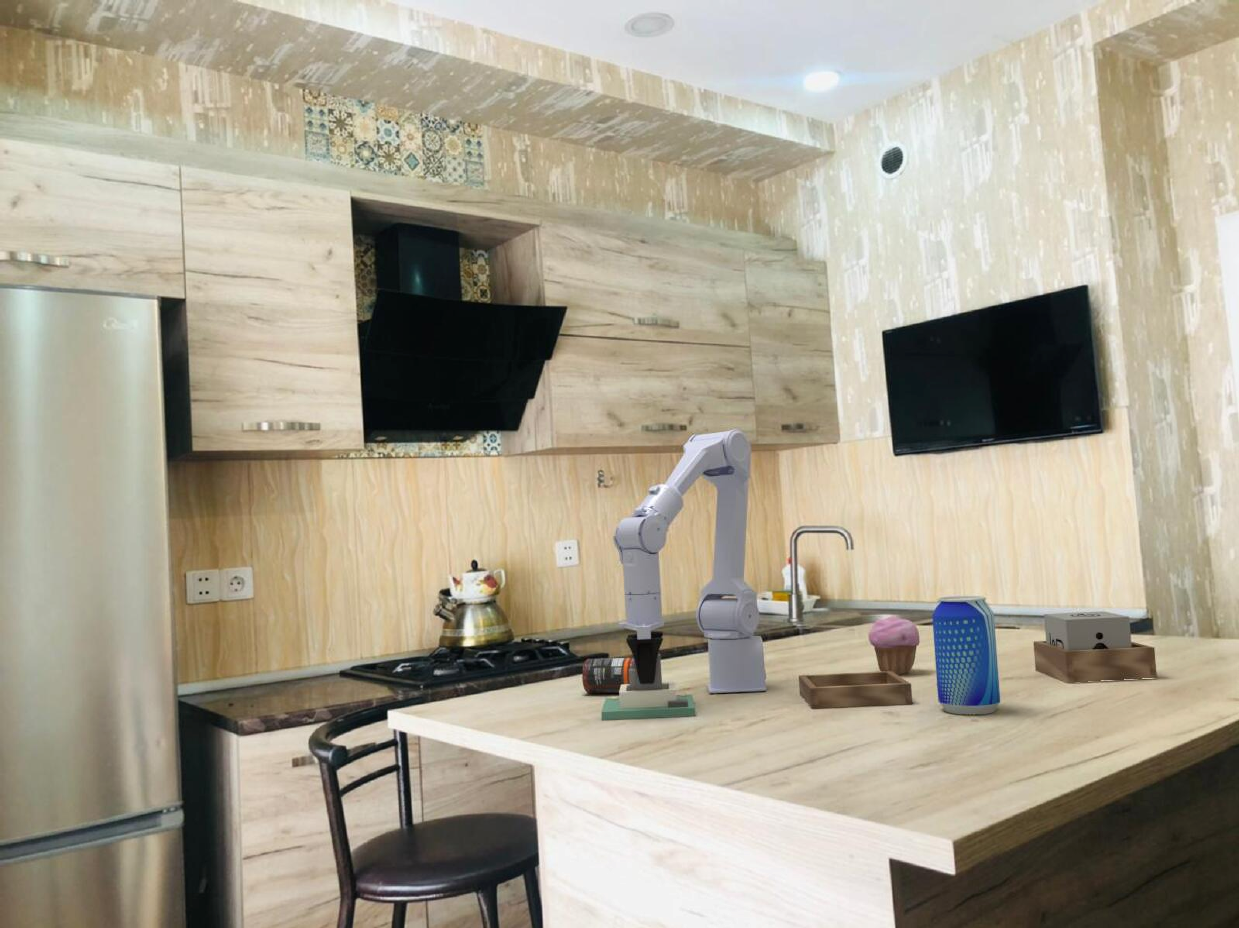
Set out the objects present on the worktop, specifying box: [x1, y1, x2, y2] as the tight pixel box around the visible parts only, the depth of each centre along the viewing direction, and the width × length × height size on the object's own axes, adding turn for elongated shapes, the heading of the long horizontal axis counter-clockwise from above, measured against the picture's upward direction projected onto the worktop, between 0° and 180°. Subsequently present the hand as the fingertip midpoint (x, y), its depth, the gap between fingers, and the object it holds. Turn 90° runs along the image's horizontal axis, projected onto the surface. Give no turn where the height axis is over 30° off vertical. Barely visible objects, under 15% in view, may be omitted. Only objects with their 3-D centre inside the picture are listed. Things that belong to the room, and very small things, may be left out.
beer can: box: [931, 595, 1001, 716], centre depth 146 cm, size 8×8×16 cm
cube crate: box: [1033, 640, 1158, 684], centre depth 169 cm, size 14×14×5 cm
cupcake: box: [868, 616, 920, 676], centre depth 182 cm, size 9×9×10 cm
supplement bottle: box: [581, 657, 635, 694], centre depth 176 cm, size 6×6×11 cm
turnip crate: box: [798, 671, 913, 709], centre depth 159 cm, size 15×13×3 cm
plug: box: [629, 652, 663, 691], centre depth 158 cm, size 5×4×6 cm
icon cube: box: [1043, 610, 1132, 651], centre depth 169 cm, size 10×10×10 cm
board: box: [600, 693, 696, 721], centre depth 158 cm, size 14×12×2 cm
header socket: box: [618, 681, 677, 709], centre depth 158 cm, size 9×8×2 cm
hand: (647, 681), depth 158 cm, fingers closed on plug, 4 cm apart
